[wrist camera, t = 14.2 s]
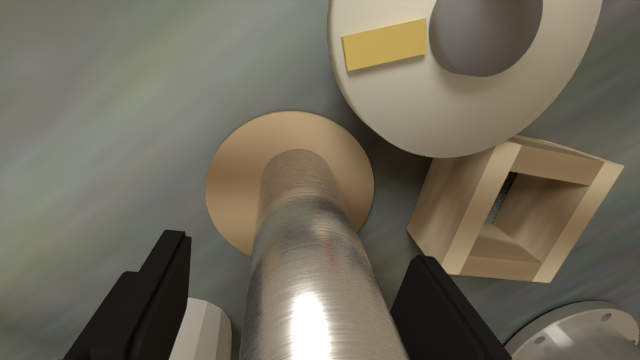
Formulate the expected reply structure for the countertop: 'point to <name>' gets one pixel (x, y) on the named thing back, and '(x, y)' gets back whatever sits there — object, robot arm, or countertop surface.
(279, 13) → the countertop surface
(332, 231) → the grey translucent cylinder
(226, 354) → the white cup
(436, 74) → the crank wheel
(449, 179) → the block
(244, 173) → the coaster
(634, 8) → the countertop surface
